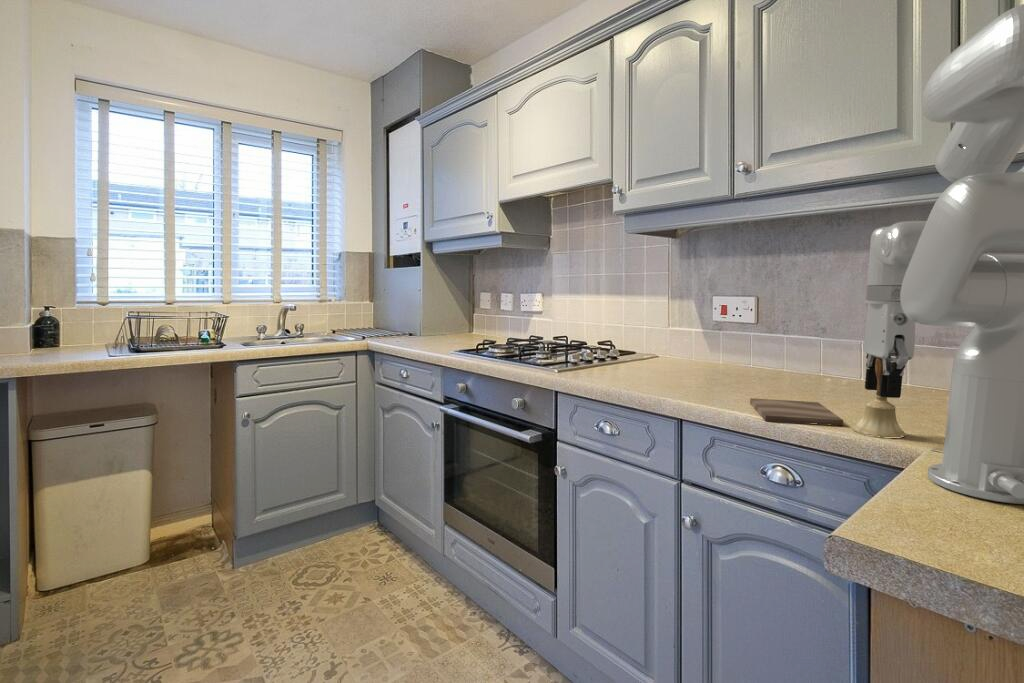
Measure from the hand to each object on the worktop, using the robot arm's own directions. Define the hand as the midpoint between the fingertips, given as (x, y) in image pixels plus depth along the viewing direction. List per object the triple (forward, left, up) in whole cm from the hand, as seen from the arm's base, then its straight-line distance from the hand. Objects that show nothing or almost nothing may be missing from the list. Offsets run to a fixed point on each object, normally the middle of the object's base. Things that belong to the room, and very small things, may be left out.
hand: (881, 392), depth 101 cm
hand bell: (0, 0, -8) cm, 8 cm away
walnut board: (+11, +12, -8) cm, 18 cm away
